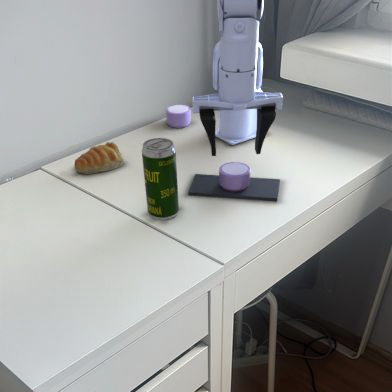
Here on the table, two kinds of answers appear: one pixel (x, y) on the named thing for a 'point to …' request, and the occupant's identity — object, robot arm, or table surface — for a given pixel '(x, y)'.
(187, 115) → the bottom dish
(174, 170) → the green metal cylinder
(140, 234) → the table surface
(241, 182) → the top dish
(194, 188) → the felt mat
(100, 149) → the pastry
